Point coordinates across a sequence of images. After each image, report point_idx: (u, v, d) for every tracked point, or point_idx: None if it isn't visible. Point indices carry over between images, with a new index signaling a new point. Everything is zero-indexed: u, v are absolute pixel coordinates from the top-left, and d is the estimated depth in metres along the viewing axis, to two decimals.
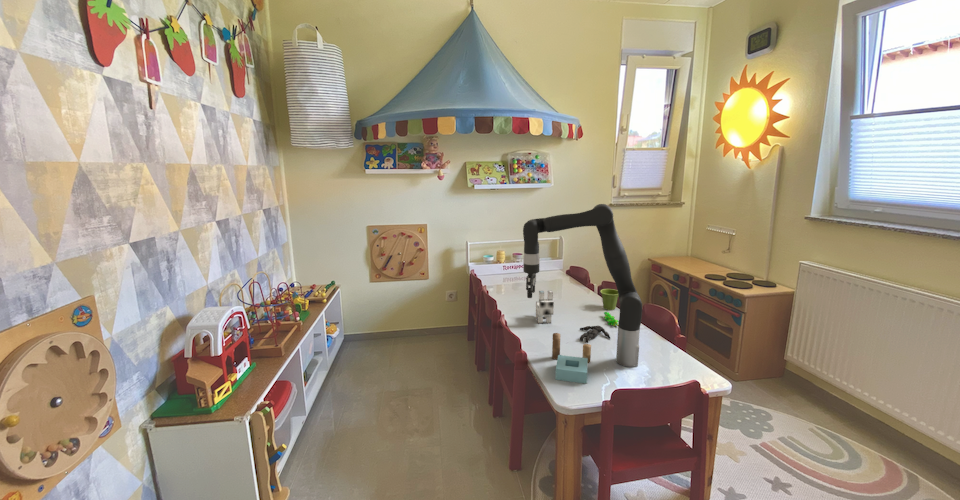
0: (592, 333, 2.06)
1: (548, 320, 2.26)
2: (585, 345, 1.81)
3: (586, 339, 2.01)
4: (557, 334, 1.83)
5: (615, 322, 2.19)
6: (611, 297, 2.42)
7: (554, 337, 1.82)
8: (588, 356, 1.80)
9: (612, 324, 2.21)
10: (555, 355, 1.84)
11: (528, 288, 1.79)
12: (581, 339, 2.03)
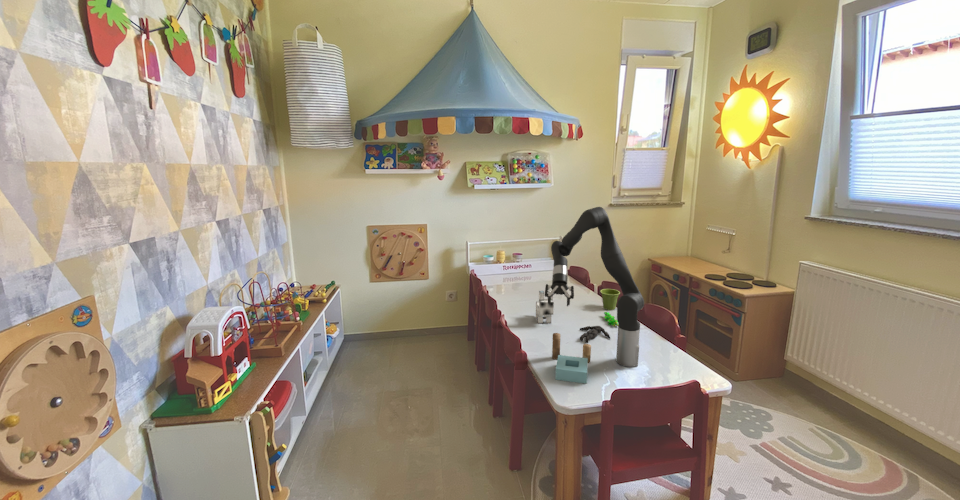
0: (592, 333, 2.06)
1: (548, 320, 2.26)
2: (585, 345, 1.81)
3: (586, 339, 2.01)
4: (557, 334, 1.83)
5: (615, 322, 2.19)
6: (611, 297, 2.42)
7: (554, 337, 1.82)
8: (588, 356, 1.80)
9: (612, 324, 2.21)
10: (555, 355, 1.84)
11: (545, 294, 1.96)
12: (581, 339, 2.03)
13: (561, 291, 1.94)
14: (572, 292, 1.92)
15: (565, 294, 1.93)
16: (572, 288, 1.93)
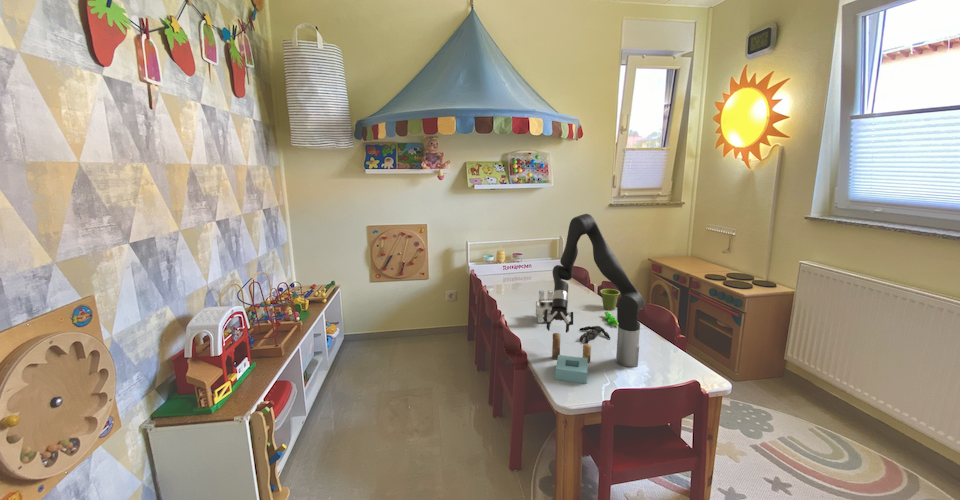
0: (592, 333, 2.06)
1: None
2: (585, 345, 1.81)
3: (586, 339, 2.01)
4: (557, 334, 1.83)
5: (615, 322, 2.19)
6: (611, 297, 2.42)
7: (554, 337, 1.82)
8: (588, 356, 1.80)
9: (612, 324, 2.21)
10: (555, 355, 1.84)
11: (544, 319, 1.93)
12: (581, 339, 2.03)
13: (560, 317, 1.91)
14: (571, 318, 1.89)
15: (564, 320, 1.90)
16: (572, 314, 1.90)
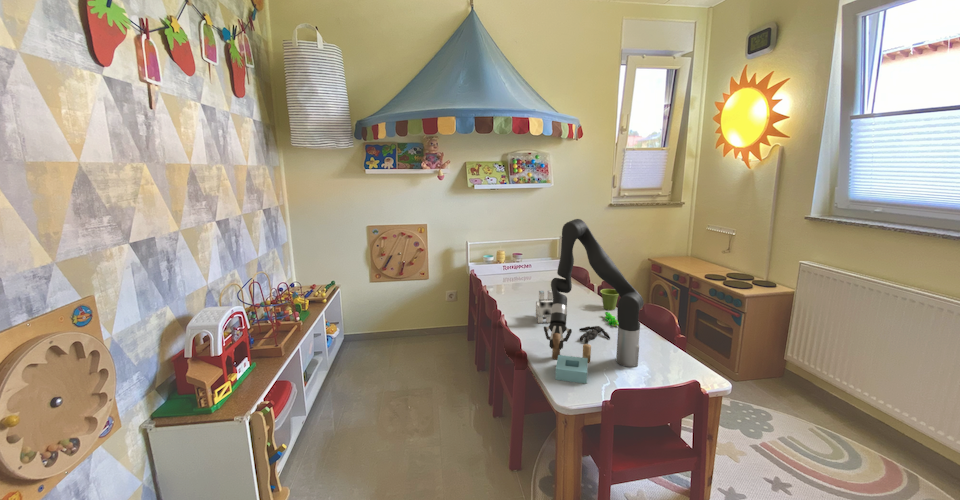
0: (592, 333, 2.06)
1: (548, 320, 2.26)
2: (585, 345, 1.81)
3: (586, 339, 2.00)
4: (557, 334, 1.83)
5: (615, 322, 2.19)
6: (611, 297, 2.42)
7: (554, 337, 1.82)
8: (588, 356, 1.80)
9: (612, 324, 2.20)
10: (555, 355, 1.84)
11: None
12: (581, 340, 2.02)
13: (557, 331, 1.86)
14: (567, 335, 1.84)
15: None
16: (569, 331, 1.85)
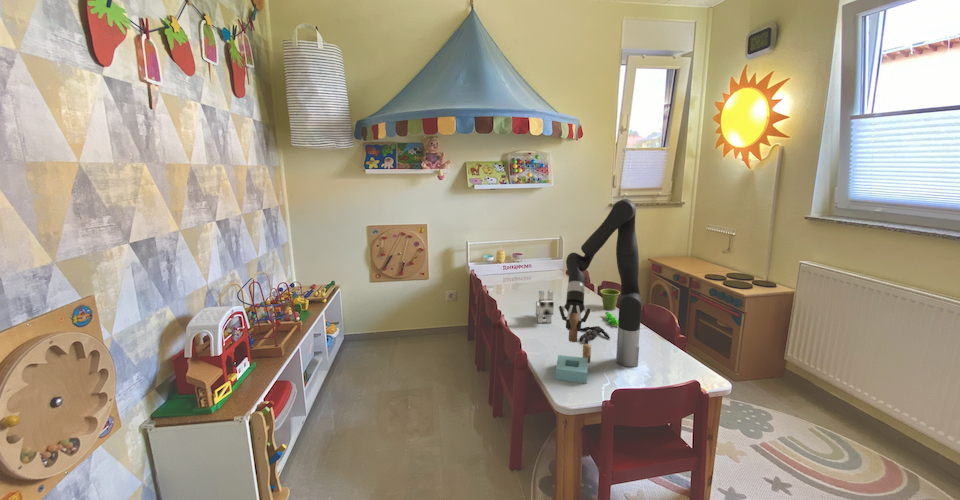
0: (592, 334, 2.05)
1: (548, 320, 2.26)
2: (585, 345, 1.81)
3: (586, 340, 2.00)
4: (574, 314, 1.66)
5: (616, 322, 2.19)
6: (611, 297, 2.42)
7: (571, 317, 1.65)
8: (588, 356, 1.80)
9: (613, 324, 2.20)
10: (572, 337, 1.66)
11: None
12: (581, 340, 2.02)
13: (574, 311, 1.68)
14: (585, 315, 1.66)
15: None
16: (588, 311, 1.67)
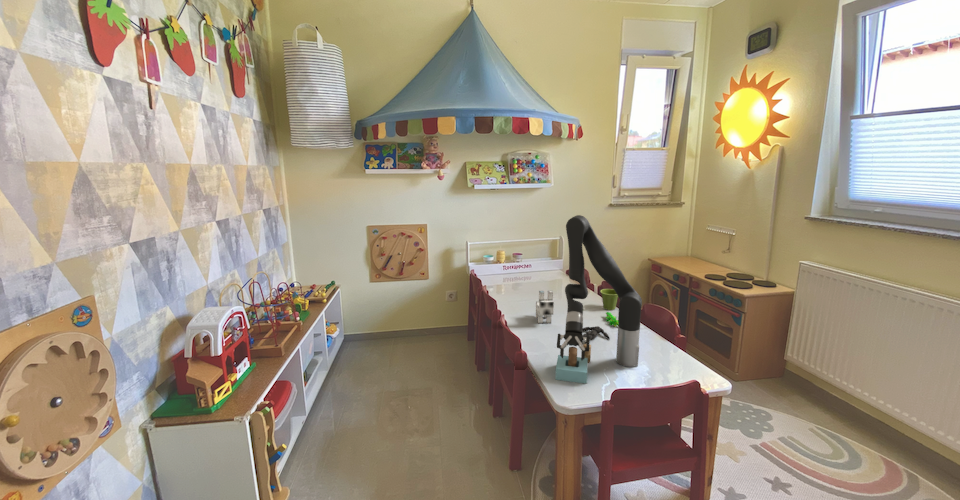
0: (591, 334, 2.05)
1: (548, 320, 2.26)
2: (585, 345, 1.81)
3: None
4: (574, 348, 1.69)
5: (616, 322, 2.19)
6: (611, 297, 2.42)
7: (570, 351, 1.68)
8: (588, 356, 1.80)
9: (613, 324, 2.20)
10: None
11: (557, 345, 1.73)
12: None
13: (575, 342, 1.71)
14: (587, 344, 1.69)
15: (579, 346, 1.70)
16: (588, 339, 1.70)
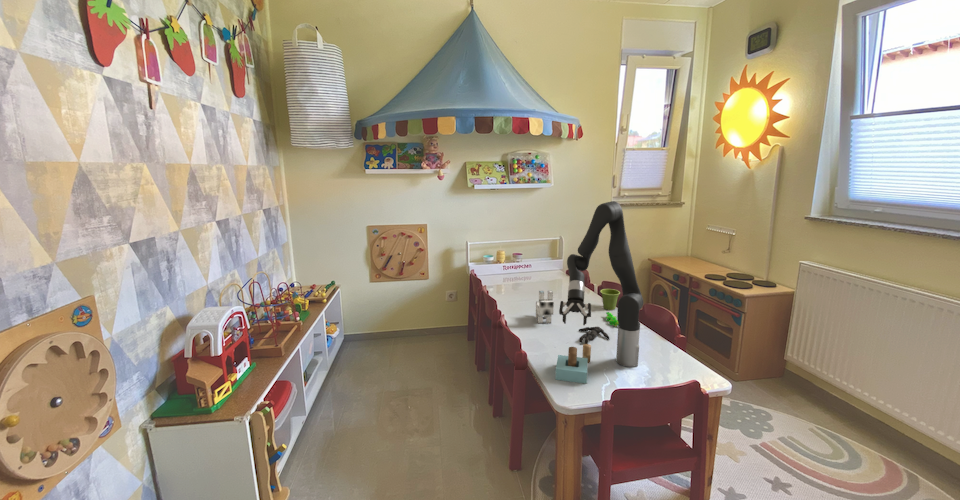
0: (591, 334, 2.05)
1: (548, 320, 2.26)
2: (585, 345, 1.81)
3: (585, 340, 2.00)
4: (573, 348, 1.69)
5: (616, 322, 2.19)
6: (611, 297, 2.42)
7: (570, 351, 1.68)
8: (588, 356, 1.80)
9: (613, 324, 2.20)
10: None
11: None
12: (581, 340, 2.02)
13: (577, 309, 1.79)
14: (589, 310, 1.78)
15: (581, 312, 1.78)
16: (589, 305, 1.79)
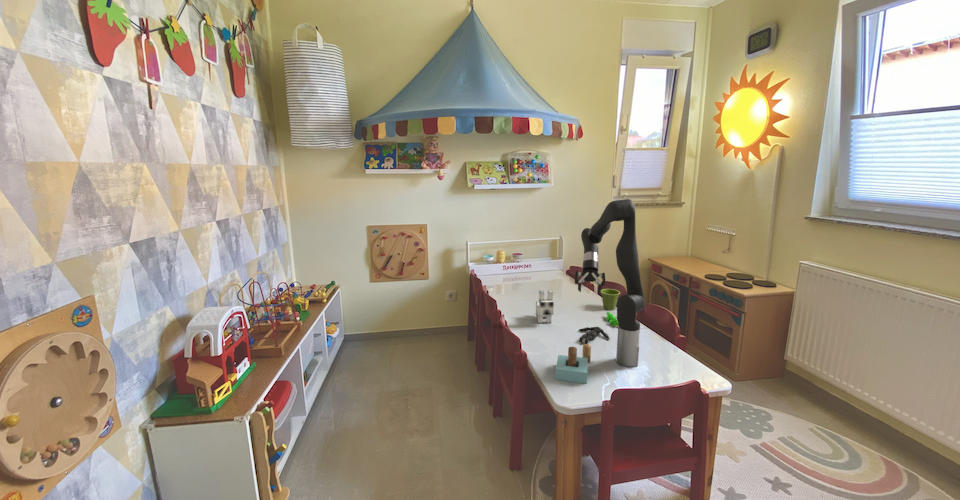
0: (591, 334, 2.05)
1: (548, 320, 2.26)
2: (585, 345, 1.81)
3: (585, 340, 1.99)
4: (573, 348, 1.69)
5: (617, 322, 2.19)
6: (611, 297, 2.42)
7: (570, 351, 1.68)
8: (588, 356, 1.80)
9: (614, 324, 2.20)
10: None
11: (575, 281, 1.90)
12: (581, 341, 2.01)
13: (592, 278, 1.88)
14: (603, 279, 1.86)
15: (596, 281, 1.87)
16: (603, 275, 1.88)
